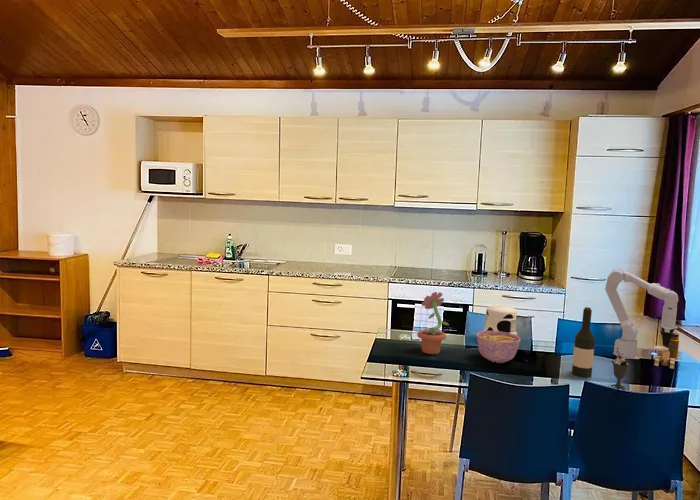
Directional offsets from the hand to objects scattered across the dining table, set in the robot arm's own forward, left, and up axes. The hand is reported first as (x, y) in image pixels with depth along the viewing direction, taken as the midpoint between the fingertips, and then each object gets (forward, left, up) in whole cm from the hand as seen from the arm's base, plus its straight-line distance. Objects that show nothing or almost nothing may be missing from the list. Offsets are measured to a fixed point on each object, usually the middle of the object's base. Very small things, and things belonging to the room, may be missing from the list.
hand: (665, 344), depth 257 cm
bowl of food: (-83, -6, -10) cm, 84 cm away
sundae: (-41, -36, -10) cm, 55 cm away
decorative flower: (-112, +3, -10) cm, 113 cm away
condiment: (+10, +11, -10) cm, 18 cm away
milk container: (-72, +26, -10) cm, 78 cm away
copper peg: (-2, -3, -9) cm, 10 cm away
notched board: (-1, -2, -9) cm, 10 cm away
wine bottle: (-50, -22, -10) cm, 56 cm away
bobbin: (+2, +6, -9) cm, 11 cm away
